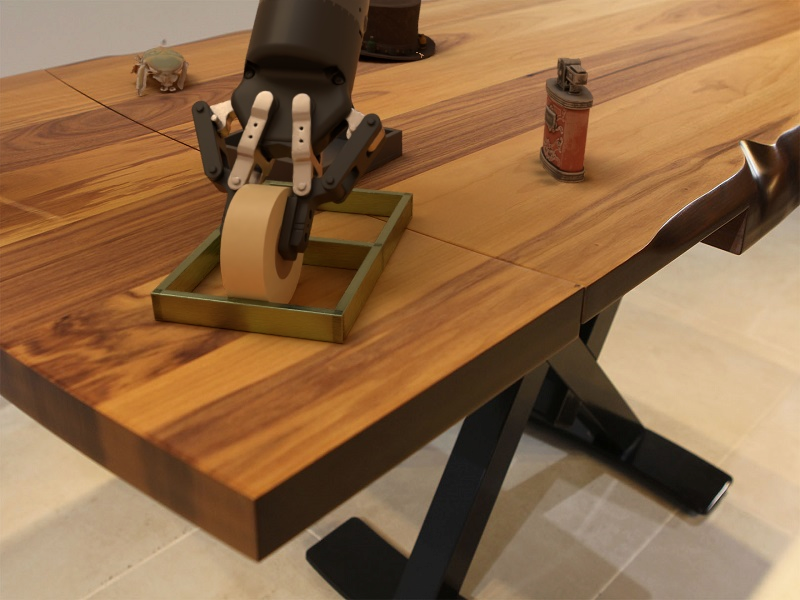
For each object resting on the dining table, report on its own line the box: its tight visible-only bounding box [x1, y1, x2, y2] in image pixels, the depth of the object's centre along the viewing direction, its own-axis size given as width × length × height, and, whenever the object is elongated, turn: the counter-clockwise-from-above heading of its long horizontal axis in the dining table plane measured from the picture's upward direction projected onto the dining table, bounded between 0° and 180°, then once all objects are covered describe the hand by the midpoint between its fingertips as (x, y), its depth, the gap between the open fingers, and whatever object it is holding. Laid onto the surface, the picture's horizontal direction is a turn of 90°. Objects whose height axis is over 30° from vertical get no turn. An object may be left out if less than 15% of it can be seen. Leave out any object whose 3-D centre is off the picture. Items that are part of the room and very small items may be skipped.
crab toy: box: [130, 45, 191, 97], centre depth 106 cm, size 9×11×5 cm
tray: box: [224, 126, 403, 183], centre depth 82 cm, size 13×13×2 cm
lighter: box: [539, 57, 594, 183], centre depth 79 cm, size 8×3×10 cm, turn 6°
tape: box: [219, 184, 304, 304], centre depth 56 cm, size 3×8×8 cm, turn 167°
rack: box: [150, 180, 414, 344], centre depth 63 cm, size 13×21×2 cm, turn 167°
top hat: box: [360, 0, 436, 61], centre depth 121 cm, size 15×15×10 cm
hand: (260, 252), depth 55 cm, fingers closed on tape, 3 cm apart
